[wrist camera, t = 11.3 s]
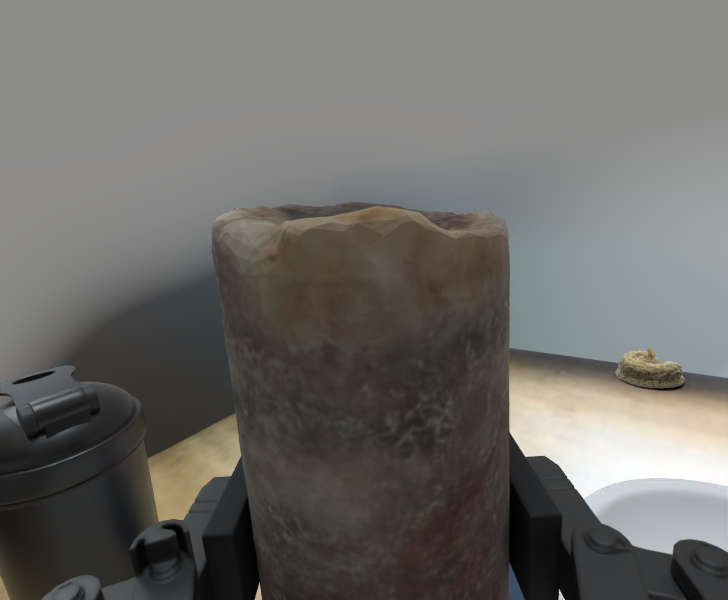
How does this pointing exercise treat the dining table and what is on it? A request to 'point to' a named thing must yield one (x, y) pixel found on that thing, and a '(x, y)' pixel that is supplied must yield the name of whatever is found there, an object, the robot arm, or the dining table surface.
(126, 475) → the water bottle
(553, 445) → the dining table surface
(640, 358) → the cake
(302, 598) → the candle
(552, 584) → the robot arm
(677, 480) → the soup bowl
